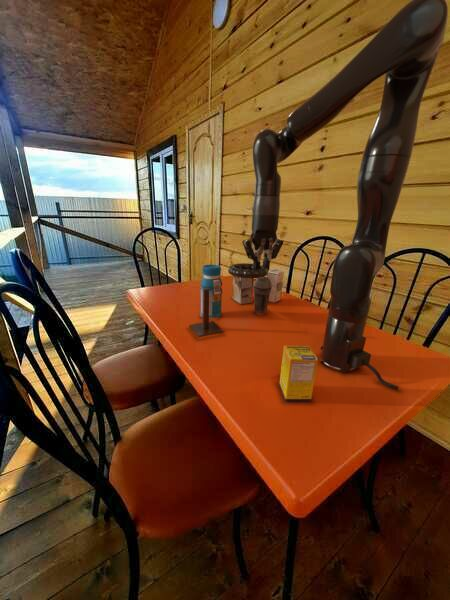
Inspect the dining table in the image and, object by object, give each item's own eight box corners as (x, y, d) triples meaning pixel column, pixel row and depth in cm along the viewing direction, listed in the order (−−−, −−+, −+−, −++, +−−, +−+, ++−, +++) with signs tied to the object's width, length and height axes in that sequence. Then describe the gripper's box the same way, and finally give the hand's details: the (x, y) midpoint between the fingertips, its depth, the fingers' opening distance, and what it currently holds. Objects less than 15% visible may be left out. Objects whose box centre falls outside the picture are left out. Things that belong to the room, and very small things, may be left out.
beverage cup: (268, 311, 108) (273, 264, 101) (269, 317, 101) (274, 268, 94) (251, 309, 108) (254, 263, 102) (251, 316, 101) (255, 267, 95)
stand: (223, 335, 85) (224, 291, 80) (198, 340, 81) (198, 294, 76) (212, 324, 93) (213, 283, 88) (189, 328, 89) (188, 286, 84)
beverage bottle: (198, 320, 96) (198, 268, 90) (201, 311, 104) (201, 263, 98) (220, 321, 96) (222, 269, 89) (221, 312, 104) (223, 264, 97)
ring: (275, 277, 74) (276, 269, 73) (240, 280, 68) (240, 272, 68) (253, 269, 83) (254, 261, 83) (221, 271, 78) (221, 263, 78)
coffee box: (252, 302, 117) (255, 268, 111) (240, 304, 114) (242, 269, 109) (243, 296, 124) (245, 264, 119) (231, 298, 122) (232, 265, 116)
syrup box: (270, 297, 125) (273, 268, 120) (280, 300, 121) (284, 270, 116) (263, 300, 121) (266, 270, 116) (274, 303, 117) (278, 272, 112)
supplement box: (302, 384, 62) (309, 345, 58) (311, 402, 56) (319, 359, 53) (278, 384, 62) (283, 344, 58) (284, 402, 56) (290, 359, 52)
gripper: (251, 213, 66) (247, 277, 72) (293, 214, 72) (286, 274, 78) (237, 212, 72) (235, 272, 78) (277, 213, 78) (272, 269, 84)
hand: (260, 272), depth 78 cm, fingers closed on ring, 2 cm apart
